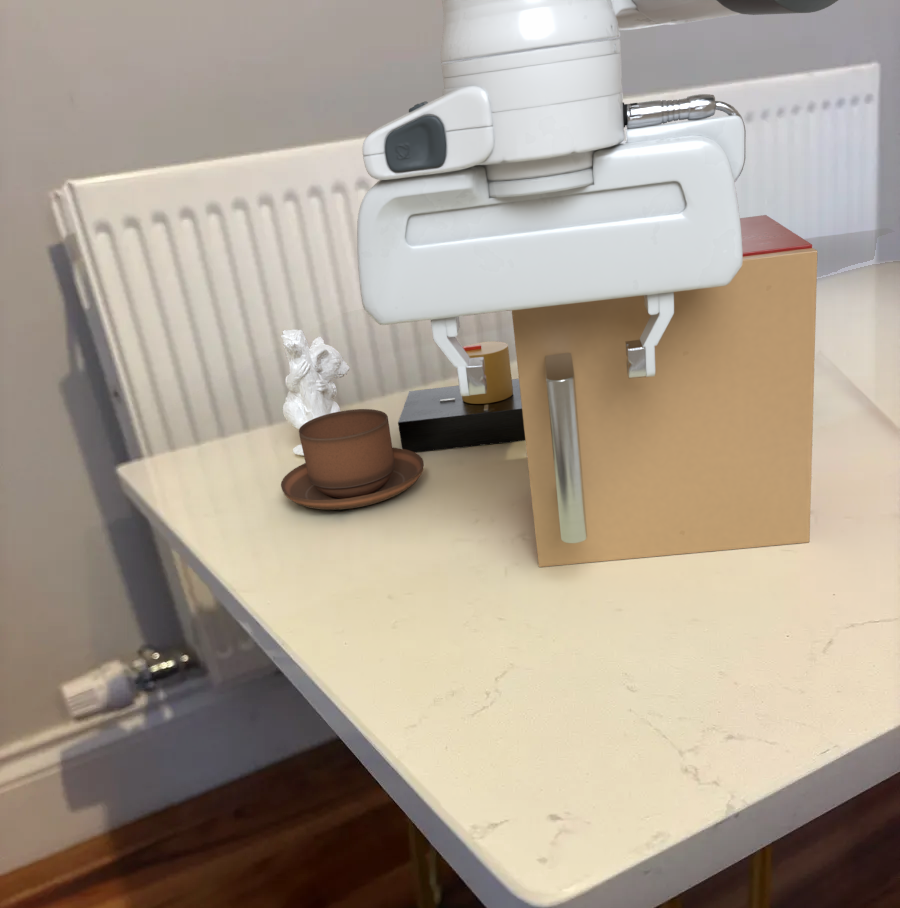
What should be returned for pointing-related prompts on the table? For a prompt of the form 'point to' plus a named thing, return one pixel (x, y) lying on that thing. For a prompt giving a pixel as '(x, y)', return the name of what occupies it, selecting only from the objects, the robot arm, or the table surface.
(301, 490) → the cup and saucer
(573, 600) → the table surface
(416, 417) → the valve panel
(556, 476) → the cabinet door
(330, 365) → the white sculpted figure
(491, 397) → the valve knob
